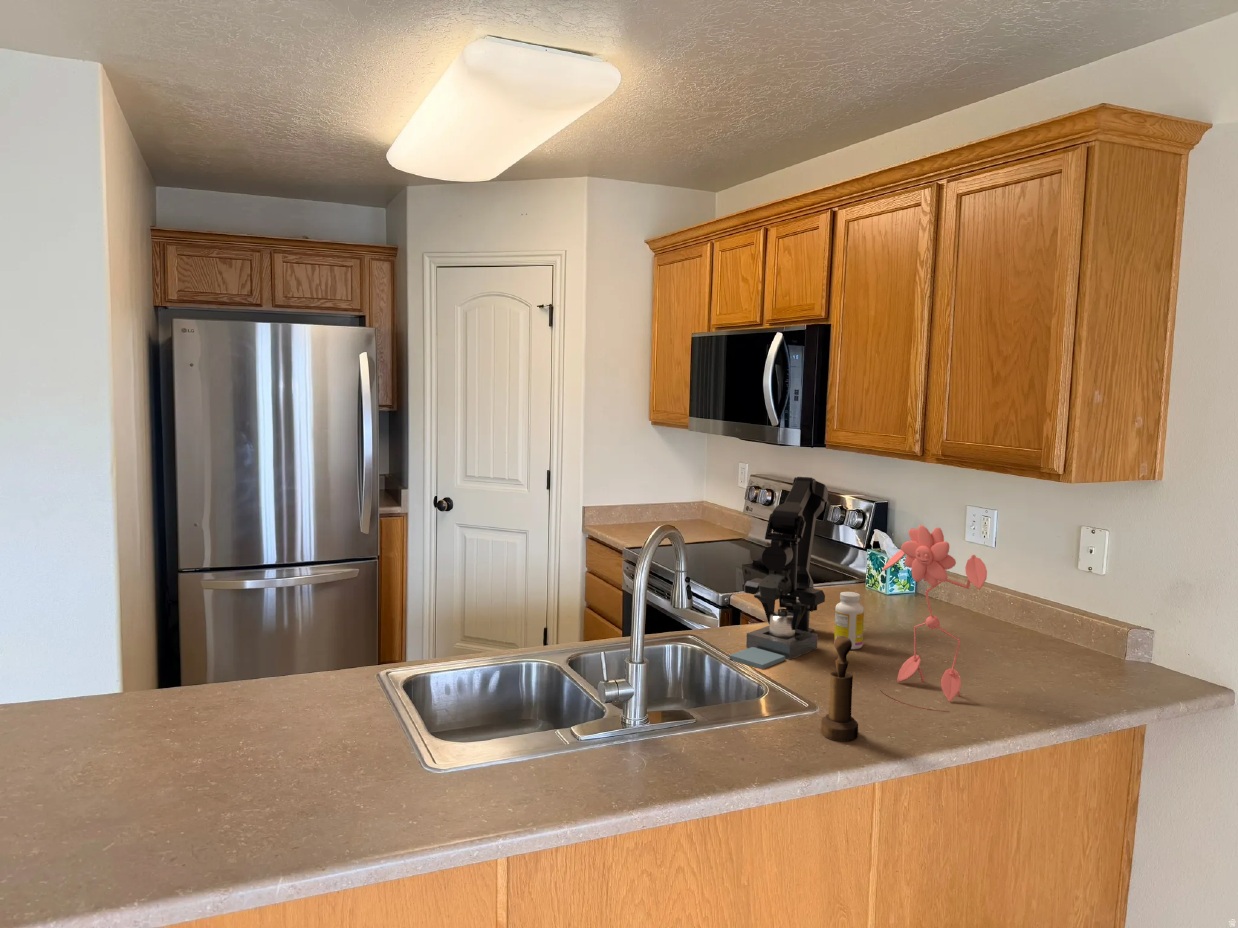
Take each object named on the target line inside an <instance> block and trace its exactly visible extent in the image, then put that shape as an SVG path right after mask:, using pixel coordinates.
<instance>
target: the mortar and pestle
mask: <svg viewBox="0 0 1238 928" xmlns="http://www.w3.org/2000/svg"><path fill="white" fill-rule="evenodd" d="M833 646H834V648H835V650H836V652H837V656H838V657H837V659H835V668H836V670H833V671H831V672H830V673H829V697H828V699H829V701H828V705H829V706H828V713H827V714H826V715H824V716H823V717H822V718H821V721H820V733H821V735H822V736H823V737H824V738H826V739H829V740H832V741H837V742H852V741H854V740H856V739H857V738H858V737H859V722H858V721H857V720H856V719H855V718H854V717H853V716H852V705H853V703H852V702H853V701H852V700H853V682H854V681H853V680H854V676H853V674H852V673H851V672H849V671H847V670H848V667H849V661H848V659H847V657H848V656H847V655H848V654H849V652H850V651H851V650H852V649H851V647H852V642H851V640H850V639H849V638H848V637H845V636H839V637H837V638H836V640H835V643H834V645H833Z"/></svg>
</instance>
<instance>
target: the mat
mask: <svg viewBox="0 0 1238 928" xmlns="http://www.w3.org/2000/svg"><path fill="white" fill-rule="evenodd" d="M728 659H732V660H731V661H733V660H734V661H733V662H736V661H737V663H739V662H740V664H743V665H747V666H750V667H754V668H757V669H760V670H764V669H766V668H769V667H771V666H774V665H777V664H779V663H781V662H784V661H785V660H786V659H785V656H783V655H780V654H776V653H773V652H769V651H766V650H762V649H758V648H755V647H751V648H746V649H743V650H741V651H737V652H734V653H732V654H729V657H728Z"/></svg>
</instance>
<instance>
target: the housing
mask: <svg viewBox="0 0 1238 928" xmlns="http://www.w3.org/2000/svg"><path fill="white" fill-rule="evenodd" d="M769 630H770V625H768V626H764V627H761V628H758V629H754V630H752V631H749V632H746V639H745V640H746V645H745V648H746V649H748V648H751V647H755V648H758V649H762V650H766V651H769V652H773V653H776V654H780V655H783V656H785V660H792V659H794V658H797V657H801V656H802V655H804V654H807V653H809V652H812V651H815V650H817V649H818V636H819V634H818V633H814V632H811V633H810V632H806V631H802V630H798V629H796V630H795V637H793V638H790V639H788V640H785V639H781V638H777V637H773V636H770V635H769Z"/></svg>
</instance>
